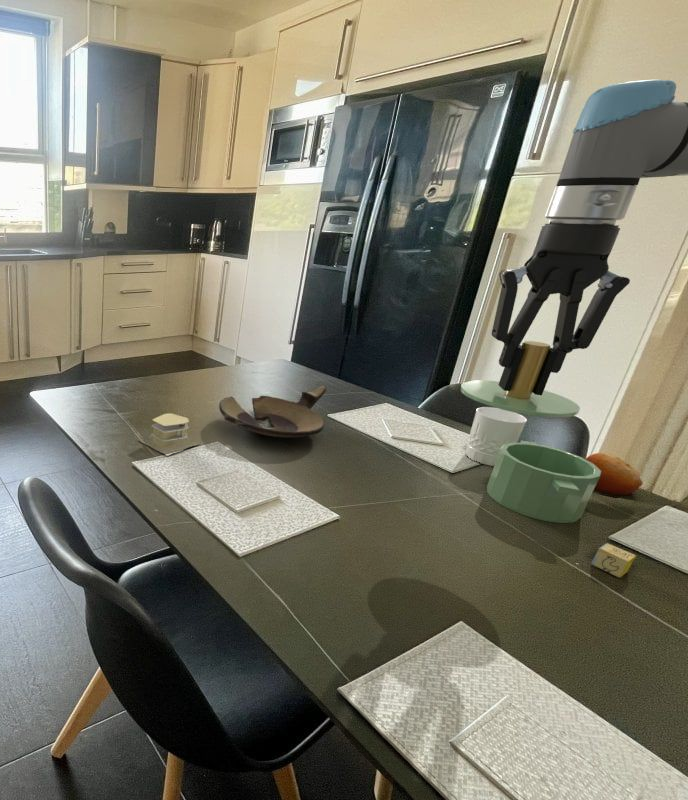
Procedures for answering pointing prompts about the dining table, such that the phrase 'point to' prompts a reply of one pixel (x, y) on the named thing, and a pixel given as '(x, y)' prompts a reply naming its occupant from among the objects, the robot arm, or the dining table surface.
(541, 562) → the dining table surface
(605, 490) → the fruit
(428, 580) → the dining table surface
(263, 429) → the broken brown bowl
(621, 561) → the alphabet block
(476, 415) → the white cup
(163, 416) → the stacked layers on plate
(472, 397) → the lid
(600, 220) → the robot arm
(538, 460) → the pot
